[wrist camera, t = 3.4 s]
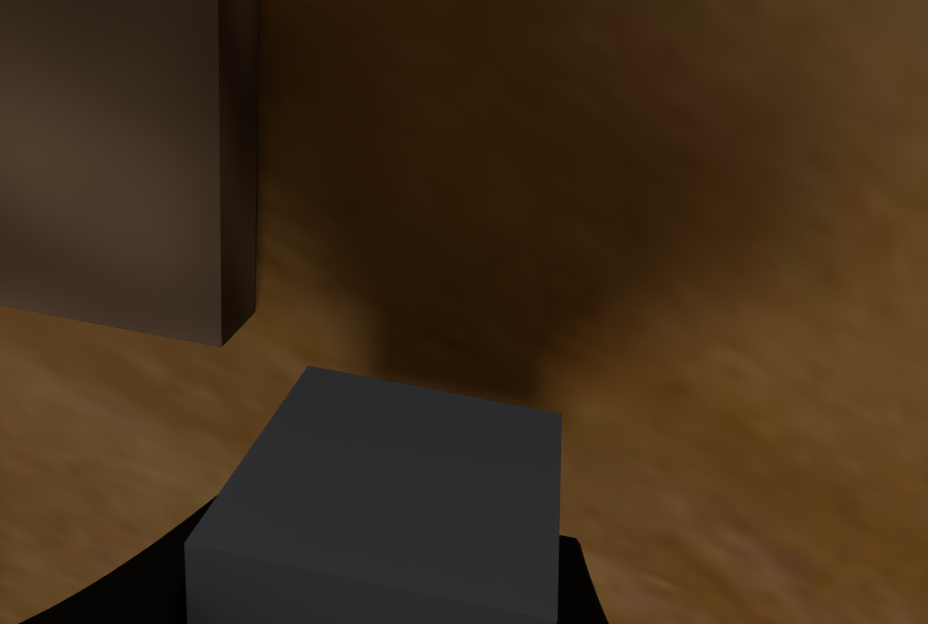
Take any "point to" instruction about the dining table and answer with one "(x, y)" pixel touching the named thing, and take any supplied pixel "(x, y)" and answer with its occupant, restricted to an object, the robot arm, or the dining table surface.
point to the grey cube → (384, 512)
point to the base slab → (130, 163)
